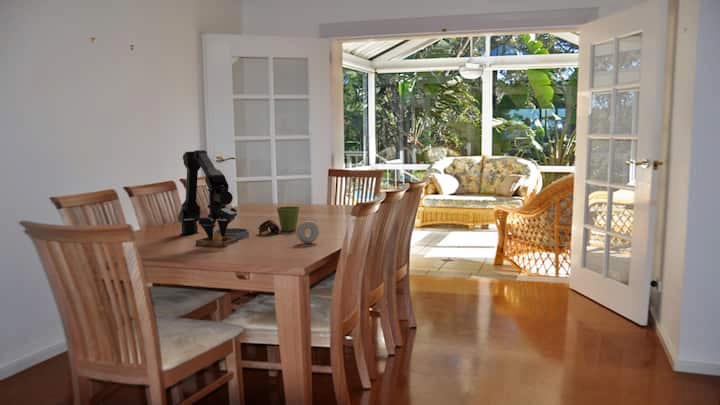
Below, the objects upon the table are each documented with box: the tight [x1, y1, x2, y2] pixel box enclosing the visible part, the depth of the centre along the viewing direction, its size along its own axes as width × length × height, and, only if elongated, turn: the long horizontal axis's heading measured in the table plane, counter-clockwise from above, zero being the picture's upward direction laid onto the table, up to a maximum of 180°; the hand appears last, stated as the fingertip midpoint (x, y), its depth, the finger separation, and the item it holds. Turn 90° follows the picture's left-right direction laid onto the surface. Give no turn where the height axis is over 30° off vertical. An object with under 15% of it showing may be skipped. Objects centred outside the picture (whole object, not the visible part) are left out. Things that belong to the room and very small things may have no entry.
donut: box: [296, 220, 320, 244], centre depth 260 cm, size 10×4×10 cm, turn 111°
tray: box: [195, 236, 239, 249], centre depth 258 cm, size 14×11×2 cm
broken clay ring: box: [257, 219, 281, 235], centre depth 282 cm, size 12×10×8 cm
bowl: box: [213, 227, 250, 240], centre depth 273 cm, size 15×15×3 cm
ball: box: [213, 234, 222, 242], centre depth 258 cm, size 4×4×4 cm
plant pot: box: [275, 205, 301, 232], centre depth 294 cm, size 12×12×11 cm
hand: (217, 238), depth 258 cm, fingers open, 9 cm apart
